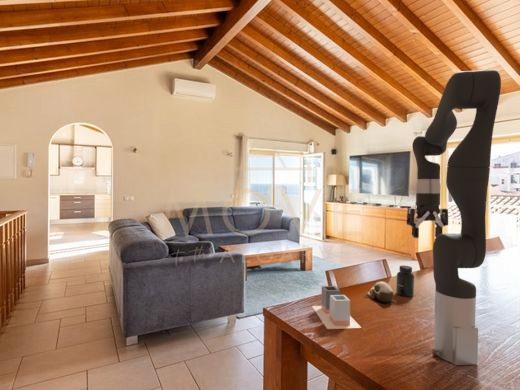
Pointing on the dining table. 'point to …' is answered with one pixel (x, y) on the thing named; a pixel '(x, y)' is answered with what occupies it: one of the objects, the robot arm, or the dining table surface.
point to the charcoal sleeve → (328, 297)
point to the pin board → (328, 322)
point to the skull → (381, 294)
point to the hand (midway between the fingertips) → (426, 237)
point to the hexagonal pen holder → (339, 310)
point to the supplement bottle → (405, 282)
